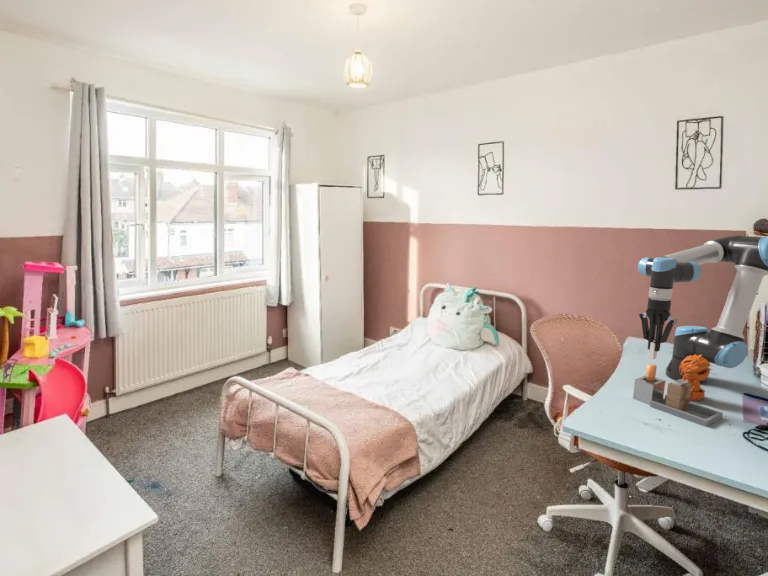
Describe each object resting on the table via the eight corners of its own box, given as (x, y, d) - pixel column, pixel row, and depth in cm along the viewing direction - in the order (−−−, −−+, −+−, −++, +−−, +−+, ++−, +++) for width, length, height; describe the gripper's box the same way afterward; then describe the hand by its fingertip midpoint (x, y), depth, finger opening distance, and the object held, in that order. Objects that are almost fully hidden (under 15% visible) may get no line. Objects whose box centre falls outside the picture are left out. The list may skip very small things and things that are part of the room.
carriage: (675, 403, 178) (678, 377, 176) (688, 408, 174) (691, 381, 172) (664, 408, 173) (668, 382, 171) (677, 413, 170) (681, 386, 168)
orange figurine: (713, 404, 178) (719, 360, 174) (681, 402, 180) (687, 357, 176) (699, 393, 188) (705, 350, 185) (670, 391, 190) (675, 348, 187)
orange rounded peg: (648, 378, 183) (649, 363, 182) (656, 380, 180) (658, 365, 179) (643, 379, 181) (645, 365, 180) (652, 382, 179) (654, 367, 178)
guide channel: (666, 399, 182) (667, 394, 182) (721, 417, 167) (722, 412, 166) (650, 406, 176) (650, 401, 175) (706, 426, 160) (706, 421, 160)
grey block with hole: (645, 393, 188) (647, 374, 186) (663, 399, 182) (665, 380, 180) (632, 398, 183) (635, 379, 181) (651, 405, 177) (653, 385, 176)
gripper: (637, 296, 178) (630, 355, 182) (673, 302, 167) (665, 365, 172) (647, 294, 182) (640, 352, 187) (683, 300, 172) (675, 361, 176)
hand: (652, 358), depth 179 cm, fingers closed
